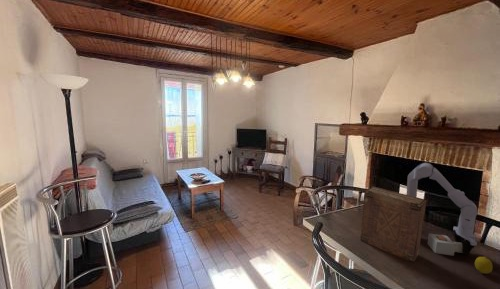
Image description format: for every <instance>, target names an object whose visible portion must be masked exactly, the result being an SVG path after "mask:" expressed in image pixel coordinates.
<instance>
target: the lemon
mask: <svg viewBox="0 0 500 289" xmlns="http://www.w3.org/2000/svg"><path fill="white" fill-rule="evenodd" d="M474 267H475V268H476V270H477V271H478V272H480V273H481V274H490V273H492V271H493V263H492V261H491V260H490V259H489V258H487V257H486V256H478V257H476V259H475V261H474Z"/></svg>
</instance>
